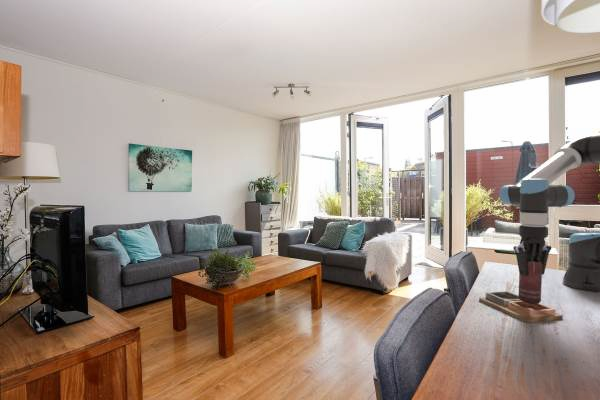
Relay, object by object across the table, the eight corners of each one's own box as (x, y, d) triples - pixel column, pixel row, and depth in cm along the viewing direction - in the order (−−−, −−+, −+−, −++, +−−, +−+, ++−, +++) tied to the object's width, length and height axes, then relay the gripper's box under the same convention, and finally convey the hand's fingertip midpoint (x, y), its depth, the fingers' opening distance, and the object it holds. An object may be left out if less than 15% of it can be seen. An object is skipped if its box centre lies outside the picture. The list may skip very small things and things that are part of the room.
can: (524, 303, 105) (525, 261, 105) (515, 297, 112) (516, 257, 111) (545, 305, 104) (546, 262, 103) (534, 298, 111) (536, 258, 110)
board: (510, 298, 124) (510, 290, 124) (562, 319, 104) (562, 309, 104) (479, 300, 121) (479, 292, 121) (526, 322, 101) (526, 312, 101)
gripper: (539, 223, 111) (537, 290, 112) (506, 224, 109) (505, 293, 110) (560, 226, 104) (558, 298, 105) (526, 227, 101) (524, 300, 102)
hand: (531, 295), depth 107 cm, fingers closed
